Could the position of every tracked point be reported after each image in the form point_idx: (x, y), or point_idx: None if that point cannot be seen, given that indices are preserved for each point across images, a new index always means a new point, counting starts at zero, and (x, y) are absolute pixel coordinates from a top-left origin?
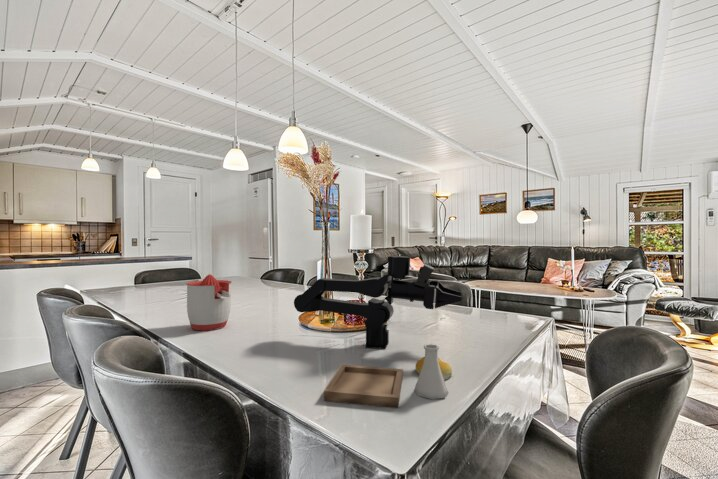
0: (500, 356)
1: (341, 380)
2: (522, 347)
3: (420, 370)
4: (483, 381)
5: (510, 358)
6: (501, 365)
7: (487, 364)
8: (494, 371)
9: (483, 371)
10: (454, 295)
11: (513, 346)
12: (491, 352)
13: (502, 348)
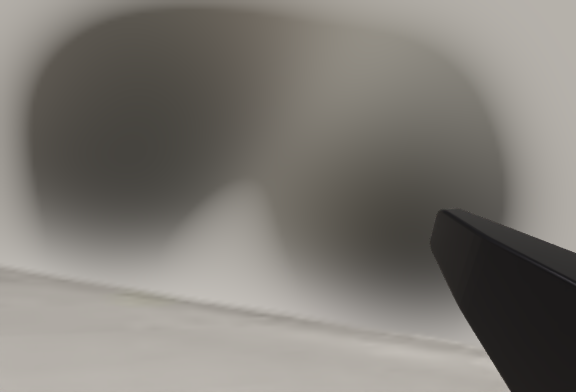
0: (209, 339)
1: None
2: (50, 274)
3: None
4: None
5: (221, 307)
6: (325, 330)
7: (347, 377)
8: (410, 347)
9: (444, 383)
10: (547, 243)
11: (36, 301)
12: (158, 377)
13: (76, 338)
